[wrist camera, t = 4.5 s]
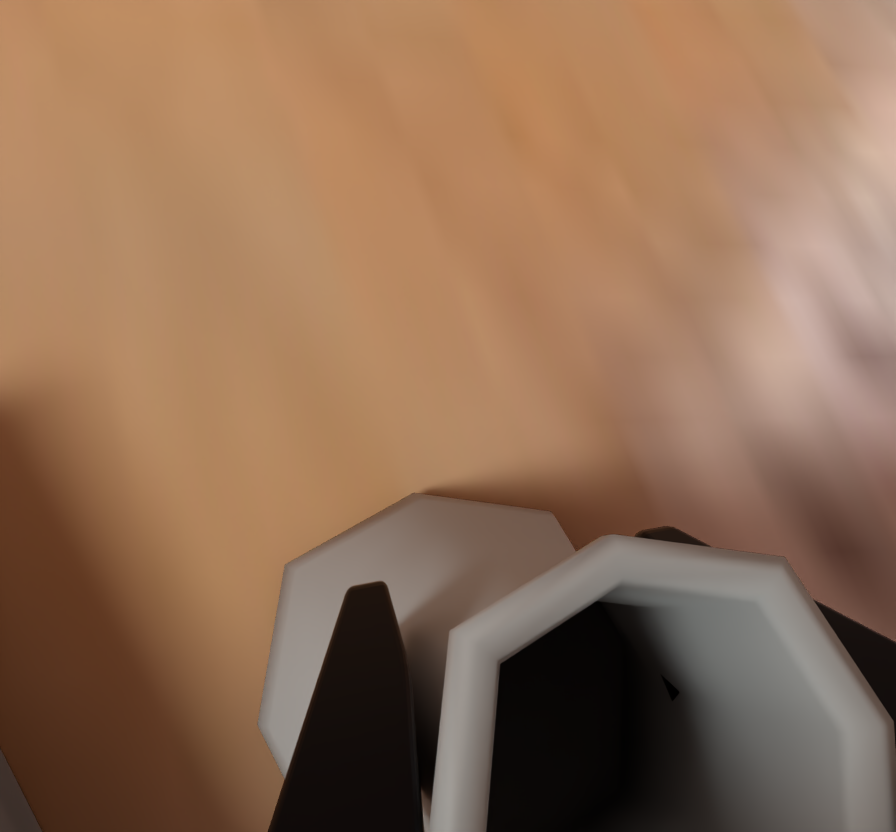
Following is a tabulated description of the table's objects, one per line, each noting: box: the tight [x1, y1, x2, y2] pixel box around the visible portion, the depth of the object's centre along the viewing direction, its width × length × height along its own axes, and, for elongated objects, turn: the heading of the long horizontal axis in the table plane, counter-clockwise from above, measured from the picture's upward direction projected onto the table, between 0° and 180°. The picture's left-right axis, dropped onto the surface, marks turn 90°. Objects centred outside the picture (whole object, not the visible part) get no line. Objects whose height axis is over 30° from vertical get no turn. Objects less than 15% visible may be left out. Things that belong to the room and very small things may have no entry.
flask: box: [257, 493, 896, 832], centre depth 9 cm, size 7×7×10 cm
